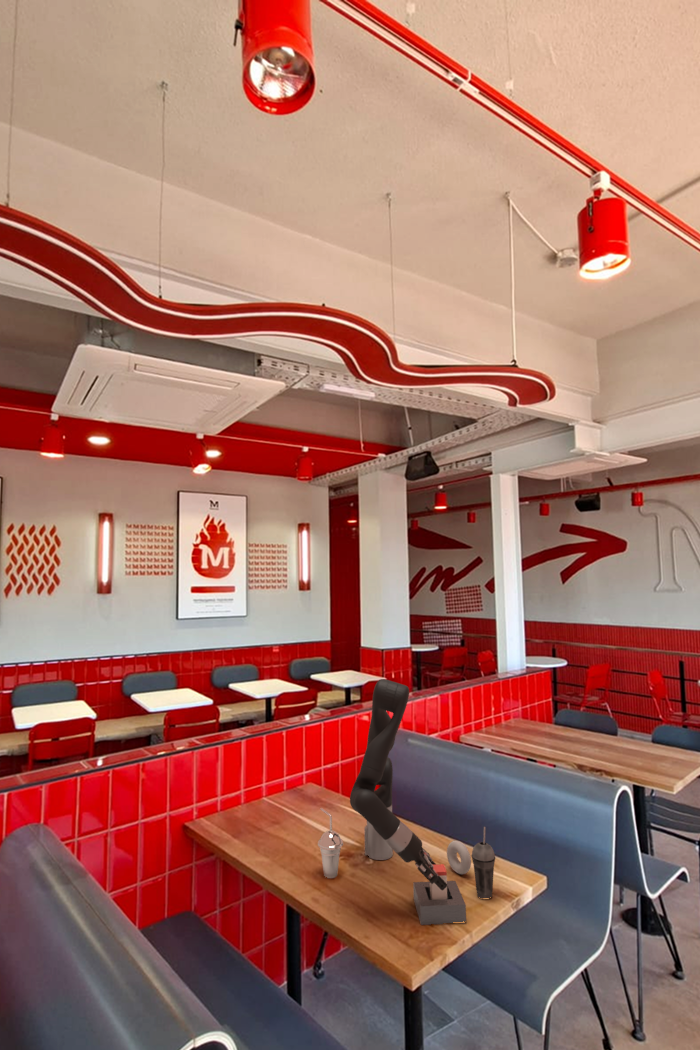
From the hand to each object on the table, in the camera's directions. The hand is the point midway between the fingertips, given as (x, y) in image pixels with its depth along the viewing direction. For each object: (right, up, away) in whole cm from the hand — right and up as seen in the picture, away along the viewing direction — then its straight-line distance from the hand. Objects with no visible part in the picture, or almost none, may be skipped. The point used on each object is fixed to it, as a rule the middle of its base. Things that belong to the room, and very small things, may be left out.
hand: (441, 879), depth 169 cm
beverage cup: (+14, -9, +7) cm, 19 cm away
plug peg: (-1, -9, -1) cm, 9 cm away
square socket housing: (-1, -9, -1) cm, 9 cm away
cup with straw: (-34, -11, +20) cm, 41 cm away
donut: (+9, -11, +21) cm, 25 cm away
